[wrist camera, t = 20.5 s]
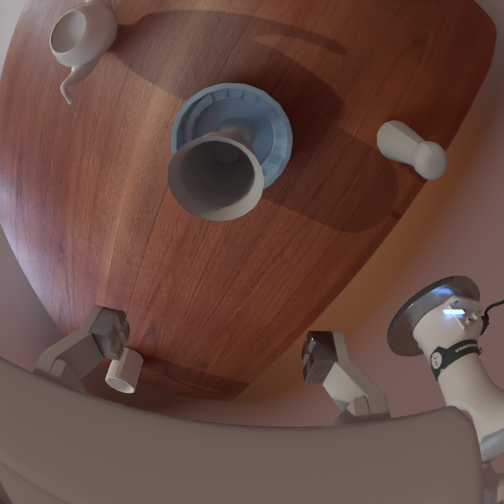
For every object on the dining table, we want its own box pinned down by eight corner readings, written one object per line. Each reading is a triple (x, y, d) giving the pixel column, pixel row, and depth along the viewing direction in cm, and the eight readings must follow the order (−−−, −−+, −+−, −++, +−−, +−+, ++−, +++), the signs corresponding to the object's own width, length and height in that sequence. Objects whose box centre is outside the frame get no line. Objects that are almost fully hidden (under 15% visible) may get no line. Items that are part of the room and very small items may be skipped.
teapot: (70, 98, 31) (31, 109, 23) (93, -16, 20) (59, -27, 12) (120, 99, 32) (85, 107, 24) (149, -23, 21) (121, -43, 13)
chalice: (201, 150, 36) (160, 206, 21) (215, 104, 32) (179, 124, 18) (252, 166, 37) (247, 232, 22) (269, 121, 34) (278, 154, 19)
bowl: (293, 88, 31) (299, 89, 27) (281, 186, 40) (284, 202, 35) (183, 82, 31) (172, 83, 26) (182, 179, 39) (172, 194, 35)
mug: (114, 362, 70) (104, 389, 62) (117, 343, 63) (105, 373, 55) (139, 372, 72) (131, 400, 63) (145, 354, 65) (136, 385, 57)
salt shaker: (408, 122, 33) (460, 145, 22) (401, 158, 36) (448, 192, 25) (374, 114, 33) (420, 133, 22) (368, 151, 36) (409, 184, 25)
